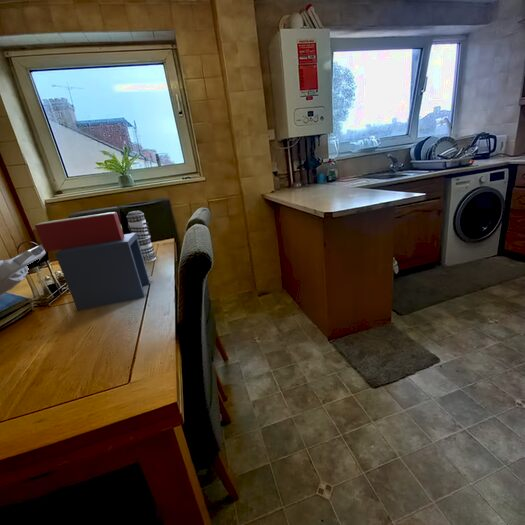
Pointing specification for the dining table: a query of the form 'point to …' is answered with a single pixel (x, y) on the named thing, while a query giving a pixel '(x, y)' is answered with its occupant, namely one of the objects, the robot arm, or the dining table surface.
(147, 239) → the leaning tower model
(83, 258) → the shelf
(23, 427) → the dining table surface
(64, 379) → the dining table surface
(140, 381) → the dining table surface
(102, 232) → the book
